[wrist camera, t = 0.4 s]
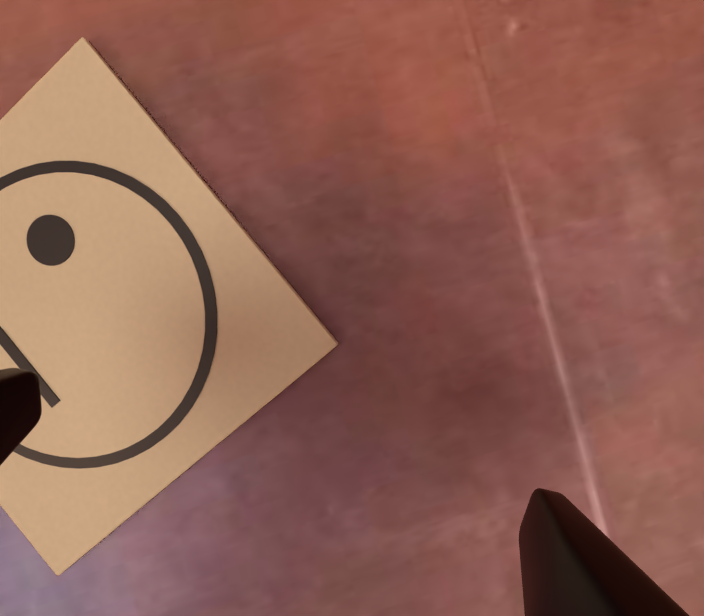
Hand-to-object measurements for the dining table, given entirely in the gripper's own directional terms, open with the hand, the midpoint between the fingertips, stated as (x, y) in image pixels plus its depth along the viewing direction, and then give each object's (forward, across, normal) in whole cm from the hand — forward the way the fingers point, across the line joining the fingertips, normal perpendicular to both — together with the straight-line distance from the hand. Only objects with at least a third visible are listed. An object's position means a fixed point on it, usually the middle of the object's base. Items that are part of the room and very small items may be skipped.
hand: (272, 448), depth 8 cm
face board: (+14, +15, +6) cm, 21 cm away
